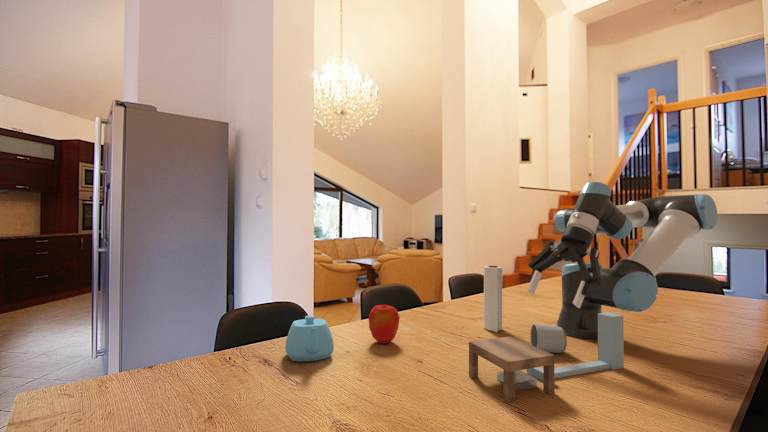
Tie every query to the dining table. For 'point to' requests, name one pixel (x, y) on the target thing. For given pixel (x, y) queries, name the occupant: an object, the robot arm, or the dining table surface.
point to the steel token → (520, 380)
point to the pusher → (607, 350)
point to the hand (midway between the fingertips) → (551, 298)
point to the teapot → (309, 340)
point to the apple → (383, 323)
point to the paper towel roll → (493, 298)
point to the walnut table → (511, 360)
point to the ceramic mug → (548, 338)
